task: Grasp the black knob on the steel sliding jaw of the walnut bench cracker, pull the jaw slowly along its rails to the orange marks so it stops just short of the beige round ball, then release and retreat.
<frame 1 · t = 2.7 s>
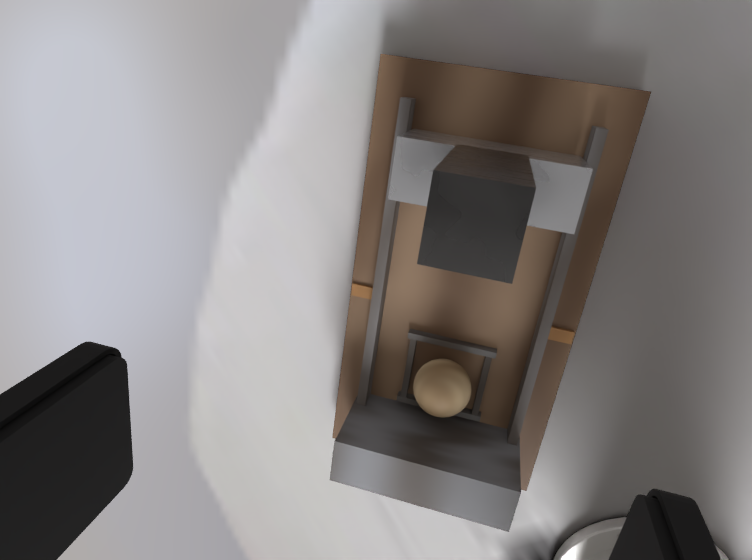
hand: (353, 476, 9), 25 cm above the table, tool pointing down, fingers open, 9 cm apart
beige round ball: (442, 387, 33), point 4 cm above the table, touching cracker base
cracker base: (464, 285, 34), on the table
jaw: (483, 191, 23), point 9 cm above the table, slide at 0.0 cm
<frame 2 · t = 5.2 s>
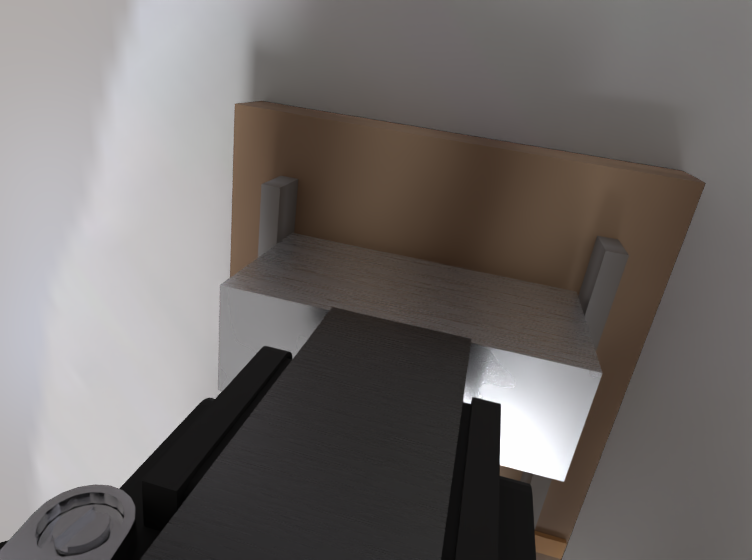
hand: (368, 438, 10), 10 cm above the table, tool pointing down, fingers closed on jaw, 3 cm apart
cracker base: (399, 445, 22), on the table
jaw: (373, 426, 11), point 9 cm above the table, slide at 0.0 cm, touching gripper
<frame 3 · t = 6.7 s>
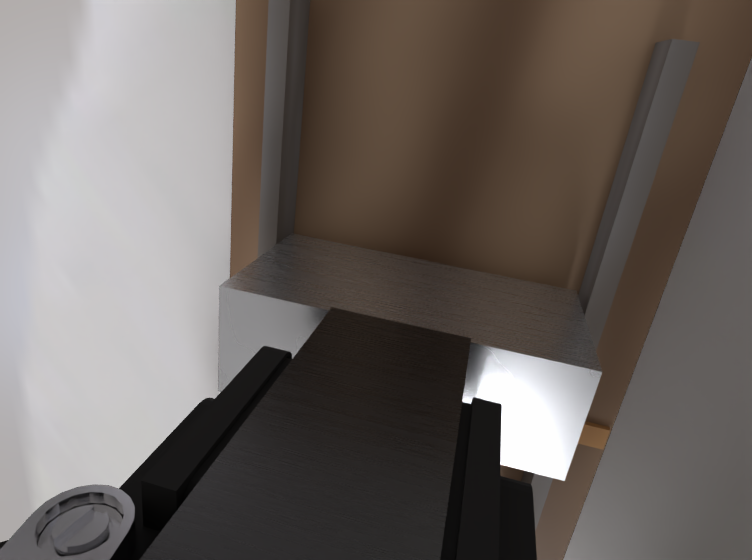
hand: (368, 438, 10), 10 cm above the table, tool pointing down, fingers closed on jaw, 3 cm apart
cracker base: (420, 338, 20), on the table
jaw: (373, 426, 11), point 9 cm above the table, slide at 5.2 cm, touching gripper
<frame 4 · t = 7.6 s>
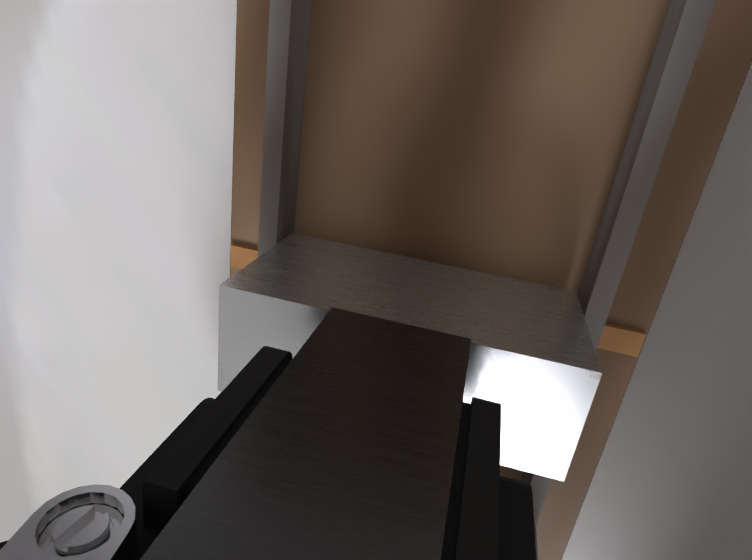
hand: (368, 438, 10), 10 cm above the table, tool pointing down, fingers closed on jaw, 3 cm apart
cracker base: (436, 249, 19), on the table
jaw: (373, 426, 11), point 9 cm above the table, slide at 8.9 cm, touching gripper
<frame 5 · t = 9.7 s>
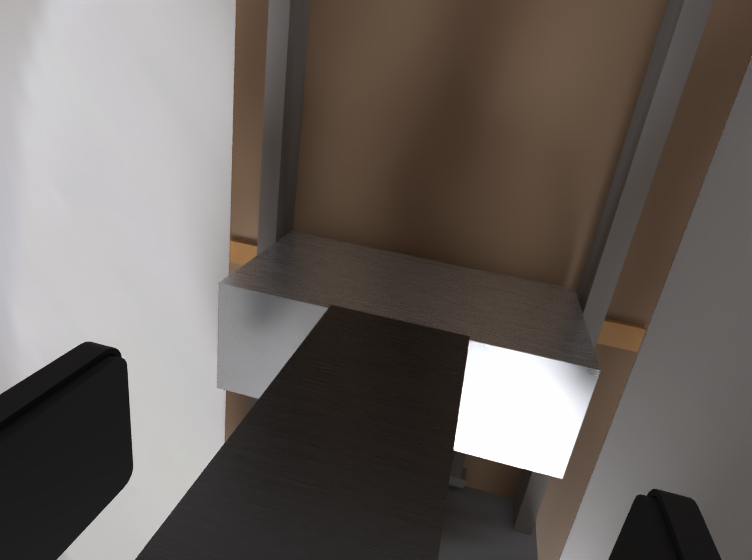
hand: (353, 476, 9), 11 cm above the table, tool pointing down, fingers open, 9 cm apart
cracker base: (436, 245, 19), on the table
jaw: (371, 423, 11), point 9 cm above the table, slide at 9.0 cm
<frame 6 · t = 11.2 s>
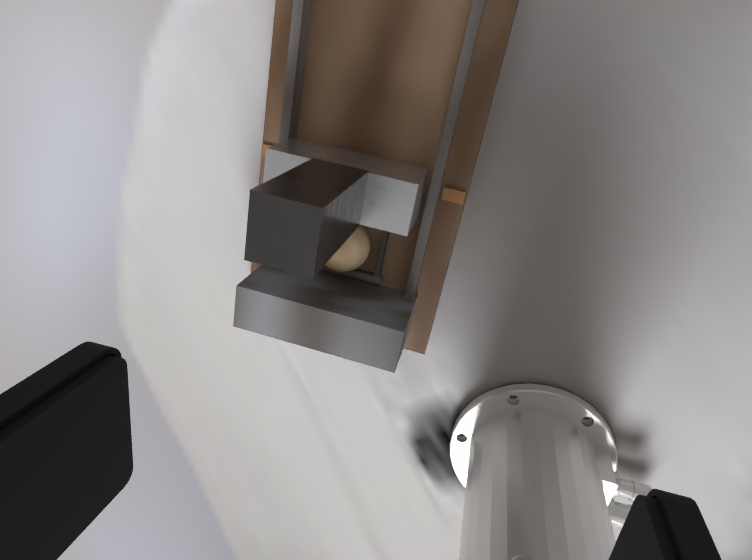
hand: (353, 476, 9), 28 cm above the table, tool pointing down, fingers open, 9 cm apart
beige round ball: (343, 244, 35), point 4 cm above the table, touching cracker base
cracker base: (371, 153, 36), on the table
jaw: (327, 199, 28), point 9 cm above the table, slide at 9.0 cm
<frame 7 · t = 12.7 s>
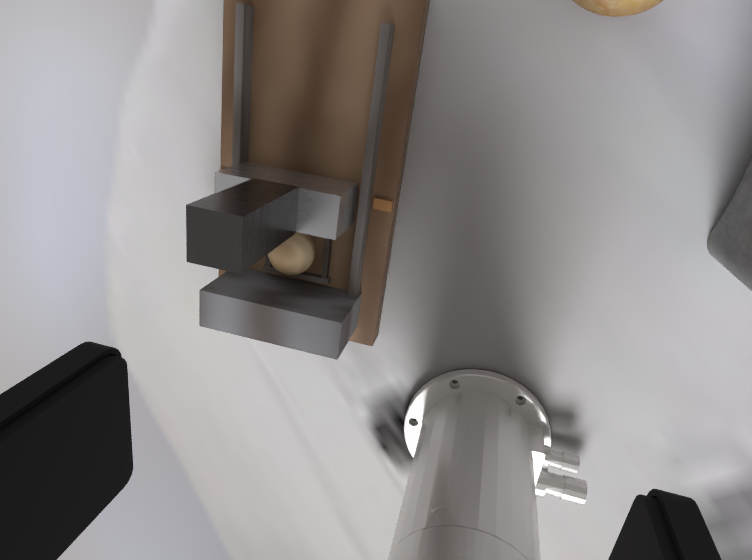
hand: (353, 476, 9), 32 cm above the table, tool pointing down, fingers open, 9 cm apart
beige round ball: (291, 251, 40), point 4 cm above the table, touching cracker base
cracker base: (314, 172, 41), on the table
jaw: (264, 211, 33), point 9 cm above the table, slide at 9.0 cm
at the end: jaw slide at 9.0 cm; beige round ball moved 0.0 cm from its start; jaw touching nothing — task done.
